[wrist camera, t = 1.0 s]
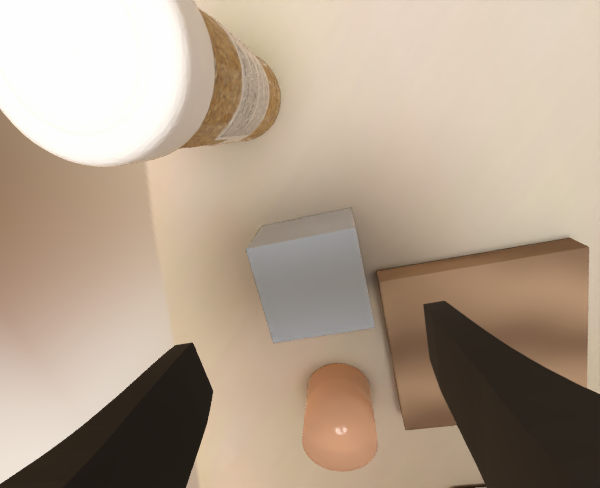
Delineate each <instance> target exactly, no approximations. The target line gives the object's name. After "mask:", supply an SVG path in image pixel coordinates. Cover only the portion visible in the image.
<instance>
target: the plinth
mask: <svg viewBox="0 0 600 488" xmlns="http://www.w3.org/2000/svg"><path fill="white" fill-rule="evenodd" d="M376 273H377V278H378V284H379V289H380V295H381V301H382V306H383V312H384V318H385V323H386V329H387V335H388V340H389V346H390V351H391V357H392V363H393V368H394V374H395V380H396V385H397V391H398V396H399V402H400V408H401V413H402V417H403V422H404V426H405V430H413V429H423V428H433V427H443V426H453V425H457V424H456V422H455V420H454V418H453V416H452V413H451V411H450V409H449V407H448V405H447V403H446V401H445V399H444V397H443V395H442V393H441V390H440V388H439V385H438V382H437V379H436V376H435V374H434V371H433V368H432V365H431V362H430V359H429V350H428V341H427V333H426V324H425V316H424V307H423V304H427V303H433V302H439V301H446V302H447V303H449V304H450V305H452V306H453V307H454V308H456V309H457V310H458V311H460V312H461V313H462V314H464V315H465V316H466V317H468V318H469V319H470V320H472V321H473V322H475V323H476V324H477V325H479V326H480V327H482V328H483V329H484V330H486V331H487V332H489V333H490V334H492V335H493V336H495V337H496V338H498V339H499V340H501V341H502V342H504V343H505V344H507V345H508V346H510V347H511V348H513V349H515V350H516V351H518V352H520V353H521V354H523V355H525V356H526V357H528V358H530V359H532V360H533V361H535V362H537V363H538V364H540V365H542V366H544V367H546V368H548V369H549V370H551V371H553V372H555V373H557V374H559V375H561V376H563V377H565V378H567V379H569V380H571V381H573V382H575V383H577V384H579V385H581V386H583V387H585V388H587V344H588V275H589V247H588V246H586V245H584V244H582V243H579V242H577V241H575V240H573V239H571V238H567V239H561V240H555V241H549V242H543V243H537V244H532V245H526V246H520V247H514V248H508V249H502V250H497V251H491V252H485V253H479V254H473V255H468V256H462V257H456V258H450V259H444V260H438V261H433V262H427V263H421V264H415V265H409V266H403V267H398V268H392V269H386V270H380V271H376Z"/></svg>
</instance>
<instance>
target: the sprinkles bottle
mask: <svg viewBox="0 0 600 488" xmlns="http://www.w3.org/2000/svg"><path fill="white" fill-rule="evenodd" d="M279 107H280V89H279V86H278V82H277V79H276V77H275V75H274V73H273V72H272V70H271V69H270V68H269V66H268V65H267V64H266V63H265V62H264V61H262V60H261V59H260V58H258V57H256V56H255V55H254V54H253V53H252V52H250V51H249V50H248V49H247V48H246V47H245V46H244V45H243V44H242V43H241V42H240V41H239V40H237V39H236V38H235V37H234V36H233V35H232V34H231V33H230V32H229V31H227V30H226V29H225V28H224V27H223V26H222V25H221V24H220V23H219V22H218V21H216V20H215V19H214V18H213V17H211V16H210V15H208V14H207V13H205V12H203V11H201V10H200V9H199V8H198V7H197V5H196V4H195V2H194V1H193V0H0V108H1V110H2V111H3V112H4V114H5V115H6V116H7V118H8V119H9V120H10V121H11V122H12V123H13V124H14V125H15V126H16V127H17V128H18V129H19V130H20V131H21V132H22V133H23V134H24V135H25V136H26V137H28V138H29V139H30V140H32V141H33V142H34V143H35V144H37V145H39V146H40V147H42V148H44V149H45V150H47V151H48V152H50V153H52V154H54V155H56V156H58V157H61V158H63V159H65V160H68V161H72V162H75V163H79V164H84V165H89V166H99V167H108V166H118V165H125V164H132V163H138V162H143V161H149V160H154V159H157V158H160V157H163V156H165V155H168V154H170V153H172V152H174V151H175V150H177V149H179V148H187V147H188V148H190V147H197V146H204V145H205V146H212V145H218V144H224V143H230V142H235V141H247V140H250V139H254V138H256V137H258V136H260V135H262V134H263V133H264V132H265V131H267V130H268V128H270V127H271V126H272V124H273V123H274V121H275V118H276V116H277V114H278V111H279Z"/></svg>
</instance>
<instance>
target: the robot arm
mask: <svg viewBox="0 0 600 488" xmlns="http://www.w3.org/2000/svg"><path fill="white" fill-rule="evenodd" d="M423 307H424V316H425V324H426V333H427V341H428V350H429V359H430V362H431V365H432V368H433V371H434V374H435V376H436V379H437V382H438V385H439V388H440V390H441V393H442V395H443V397H444V399H445V401H446V403H447V405H448V407H449V409H450V411H451V413H452V416H453V418H454V420H455V422H456V424H457V426H458V428H459V430H460V432H461V434H462V436H463V438H464V440H465V442H466V444H467V446H468V448H469V450H470V452H471V454H472V456H473V458H474V460H475V463H476V465H477V467H478V469H479V471H480V473H481V475H482V478H483V480H484V482H485V484H486V487H477V488H600V394H598V393H596V392H594V391H591V390H589V389H587V388H585V387H583V386H581V385H579V384H577V383H575V382H573V381H571V380H569V379H567V378H565V377H563V376H561V375H559V374H557V373H555V372H553V371H551V370H549V369H548V368H546V367H544V366H542V365H540V364H538V363H537V362H535V361H533V360H532V359H530V358H528V357H526V356H525V355H523V354H521V353H520V352H518V351H516V350H515V349H513V348H511V347H510V346H508V345H507V344H505V343H504V342H502V341H501V340H499V339H498V338H496V337H495V336H493V335H492V334H490V333H489V332H487V331H486V330H484V329H483V328H482V327H480V326H479V325H477V324H476V323H475V322H473V321H472V320H470V319H469V318H468V317H466V316H465V315H464V314H462V313H461V312H460V311H458V310H457V309H456V308H454V307H453V306H452V305H450V304H449V303H447V302H446V301H439V302H433V303H427V304H423ZM212 395H213V389H212V387H211V385H210V382H209V380H208V378H207V375H206V373H205V370H204V368H203V366H202V363H201V361H200V358H199V356H198V354H197V351H196V349H195V347H194V344H193V343H187V344H181V345H175V346H174V347H173V348H171V349H170V350H169V351H167V352H166V353H165V354H164V355H163V356H162V357H161V358H159V359H158V360H157V361H156V362H155V363H154V364H153V365H151V366H150V367H149V368H148V369H147V370H146V371H145V372H144V373H143V374H141V375H140V376H139V377H138V378H137V379H136V380H135V381H134V382H133V383H132V384H130V386H128V387H127V388H126V389H125V390H124V391H123V392H122V393H120V394H119V395H118V396H117V397H116V398H115V399H114V400H112V401H111V402H110V403H109V404H108V405H106V406H105V407H104V408H103V409H102V410H101V411H99V412H98V413H97V414H96V415H95V416H93V417H92V418H91V419H90V420H89V421H88V422H86V423H85V424H84V425H83V426H81V427H80V428H79V429H78V430H76V431H75V432H74V433H73V434H71V435H70V436H69V437H67V438H66V439H65V440H63V441H62V442H61V443H59V444H58V445H57V446H55V447H54V448H52V449H51V450H50V451H48V452H47V453H45V454H44V455H43V456H41V457H40V458H39V459H37V460H35V461H34V462H32V463H31V464H29V465H28V466H26V467H25V468H23V469H22V470H21V471H19V472H17V473H16V474H15V475H13V476H12V477H10V478H9V479H7V480H6V481H4V482H3V483H1V484H0V488H186V485H187V482H188V479H189V476H190V473H191V470H192V468H193V465H194V462H195V459H196V456H197V453H198V450H199V447H200V444H201V440H202V437H203V434H204V431H205V428H206V425H207V421H208V416H209V412H210V406H211V401H212Z"/></svg>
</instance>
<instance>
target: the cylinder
mask: <svg viewBox="0 0 600 488" xmlns="http://www.w3.org/2000/svg"><path fill="white" fill-rule="evenodd" d="M302 441H303V447H304V450H305V452H306V454H307V455H308V457H309V458H310V459H311V460H312V461H314V462H315V463H316V464H318V465H319V466H321V467H323V468H326V469H329V470H334V471H351V470H356V469H358V468H361V467H363V466H365V465H366V464H368V463H369V462H370V461H371V460H372V459H373V457H374V456H375V454H376V451H377V447H378V442H377V435H376V427H375V420H374V412H373V405H372V398H371V390H370V384H369V382H368V379H367V378H366V376H365V375H364V374H363V373H362V372H361V371H360V370H358V369H357V368H355V367H353V366H350V365H346V364H338V363H336V364H329V365H326V366H323V367H321V368H319V369H318V370H317V371H315V372H314V373H313V375H312V376H311V378H310V380H309V383H308V390H307V400H306V410H305V419H304V429H303V439H302Z"/></svg>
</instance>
